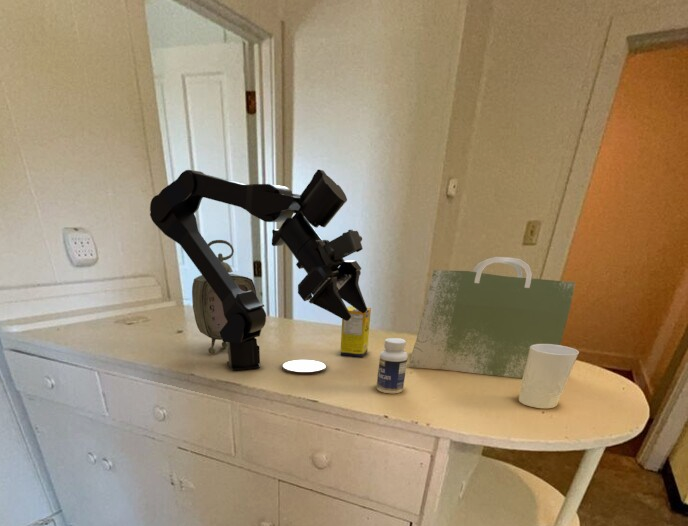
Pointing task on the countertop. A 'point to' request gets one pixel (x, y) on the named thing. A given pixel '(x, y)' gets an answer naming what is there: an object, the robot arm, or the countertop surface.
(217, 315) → the tabletop clock
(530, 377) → the white cup
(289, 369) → the white disc
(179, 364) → the countertop surface
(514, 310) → the grocery bag
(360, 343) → the supplement box
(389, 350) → the pill bottle
